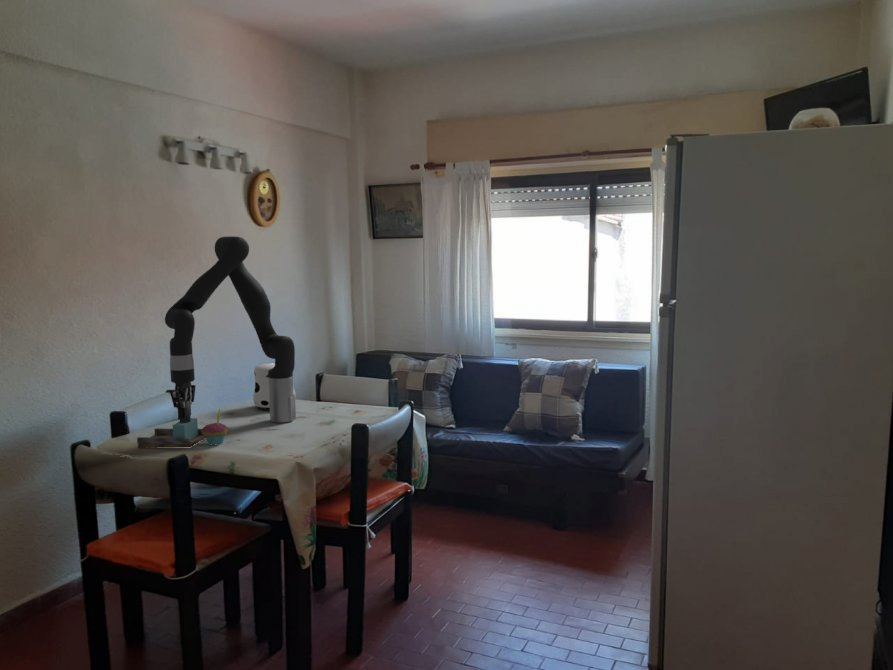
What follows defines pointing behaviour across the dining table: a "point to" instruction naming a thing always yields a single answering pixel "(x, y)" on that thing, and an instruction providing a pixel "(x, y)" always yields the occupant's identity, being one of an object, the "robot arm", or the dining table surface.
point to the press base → (167, 439)
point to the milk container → (262, 386)
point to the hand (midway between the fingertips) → (184, 417)
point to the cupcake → (215, 432)
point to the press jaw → (186, 425)
